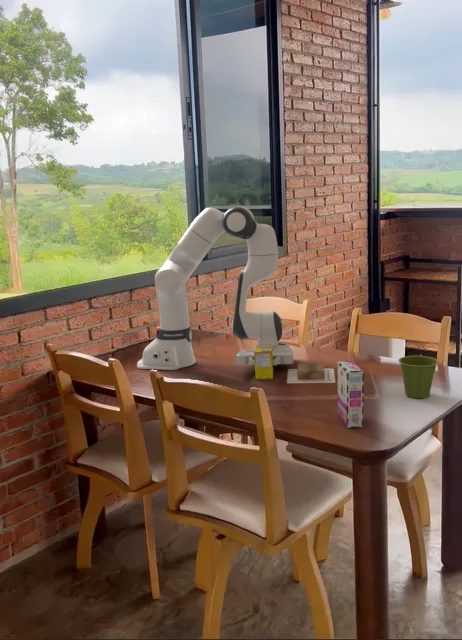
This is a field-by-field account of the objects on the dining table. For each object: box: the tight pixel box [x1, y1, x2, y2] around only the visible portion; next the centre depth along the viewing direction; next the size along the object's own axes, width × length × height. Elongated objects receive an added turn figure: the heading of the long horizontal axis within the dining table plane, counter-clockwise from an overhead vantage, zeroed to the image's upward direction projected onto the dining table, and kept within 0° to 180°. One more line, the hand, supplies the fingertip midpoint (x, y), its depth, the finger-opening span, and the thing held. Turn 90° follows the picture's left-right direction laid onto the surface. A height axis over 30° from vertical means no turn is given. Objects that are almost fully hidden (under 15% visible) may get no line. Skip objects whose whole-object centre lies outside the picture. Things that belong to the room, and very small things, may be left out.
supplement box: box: [254, 347, 274, 380], centre depth 229 cm, size 6×6×11 cm
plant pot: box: [398, 355, 439, 399], centre depth 206 cm, size 12×12×11 cm
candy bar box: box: [337, 360, 365, 429], centre depth 187 cm, size 11×5×16 cm, turn 5°
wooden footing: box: [296, 362, 325, 380], centre depth 228 cm, size 9×9×3 cm
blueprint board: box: [286, 368, 336, 384], centre depth 228 cm, size 16×16×1 cm
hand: (263, 363), depth 228 cm, fingers closed on supplement box, 6 cm apart
